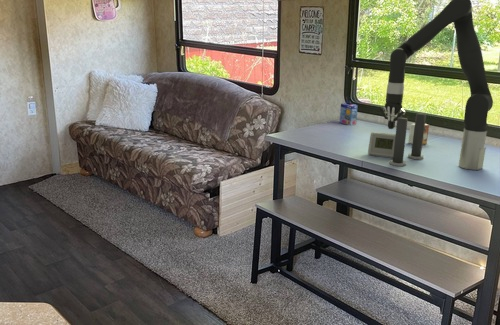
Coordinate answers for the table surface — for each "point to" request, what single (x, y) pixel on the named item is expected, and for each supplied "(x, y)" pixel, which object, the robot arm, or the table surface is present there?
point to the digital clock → (381, 144)
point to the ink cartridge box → (348, 113)
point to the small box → (423, 135)
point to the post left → (399, 142)
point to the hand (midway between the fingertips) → (390, 128)
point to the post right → (418, 137)
